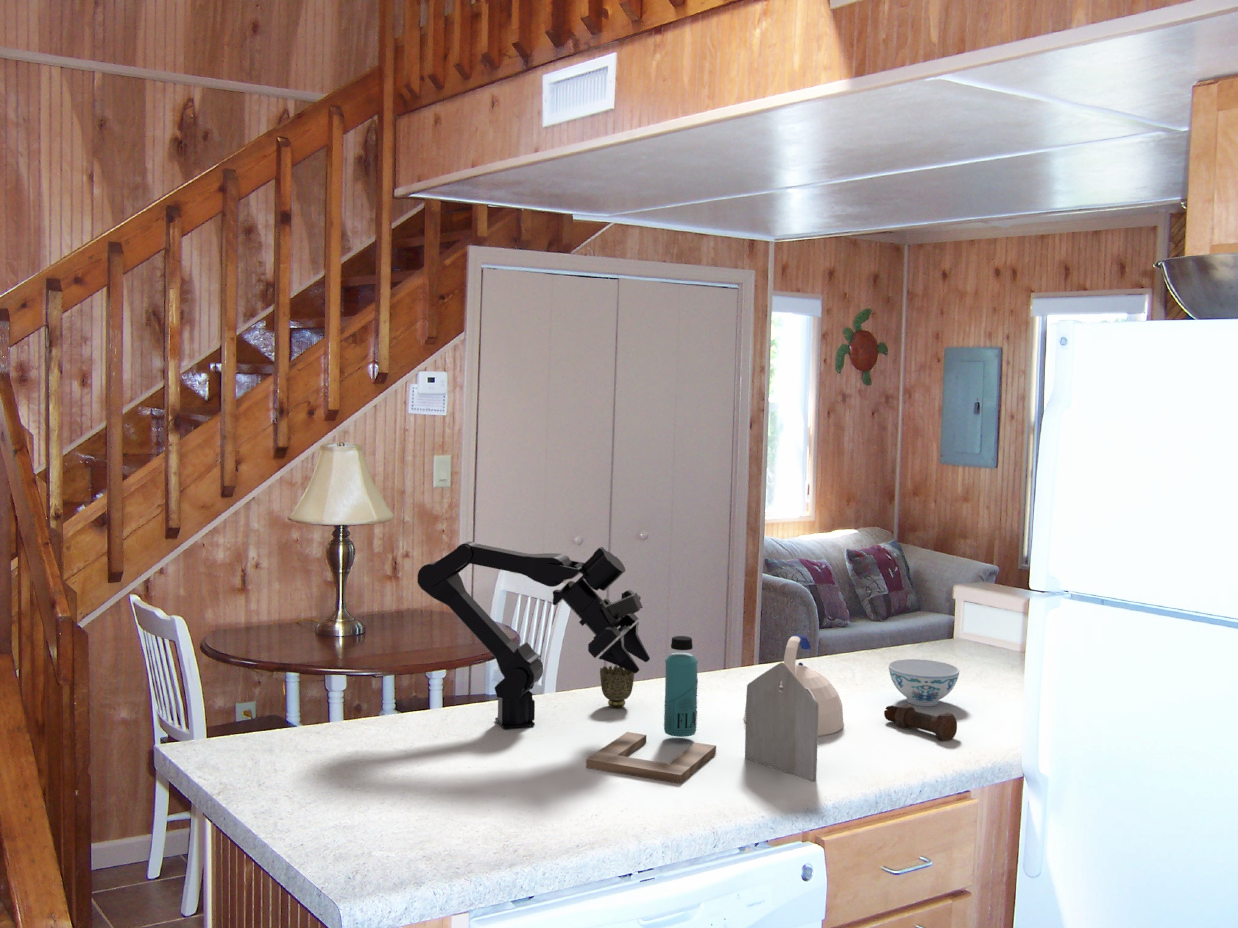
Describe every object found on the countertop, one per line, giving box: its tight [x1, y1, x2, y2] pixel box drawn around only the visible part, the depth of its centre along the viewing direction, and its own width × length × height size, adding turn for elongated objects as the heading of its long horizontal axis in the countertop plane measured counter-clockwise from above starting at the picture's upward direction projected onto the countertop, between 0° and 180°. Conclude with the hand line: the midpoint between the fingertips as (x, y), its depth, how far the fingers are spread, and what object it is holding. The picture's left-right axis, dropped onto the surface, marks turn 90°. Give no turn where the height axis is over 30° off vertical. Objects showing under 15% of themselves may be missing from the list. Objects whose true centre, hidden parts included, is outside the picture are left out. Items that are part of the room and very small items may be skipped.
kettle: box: [743, 634, 845, 737], centre depth 231 cm, size 20×21×18 cm
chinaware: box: [888, 658, 960, 707], centre depth 248 cm, size 15×15×8 cm
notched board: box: [585, 731, 717, 785], centre depth 206 cm, size 18×18×2 cm
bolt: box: [883, 704, 958, 742], centre depth 227 cm, size 6×5×15 cm
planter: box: [744, 662, 819, 782], centre depth 204 cm, size 16×8×19 cm, turn 42°
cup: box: [599, 665, 635, 709], centre depth 240 cm, size 8×7×8 cm
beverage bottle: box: [663, 635, 699, 738], centre depth 218 cm, size 6×7×20 cm
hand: (643, 665), depth 220 cm, fingers open, 9 cm apart
